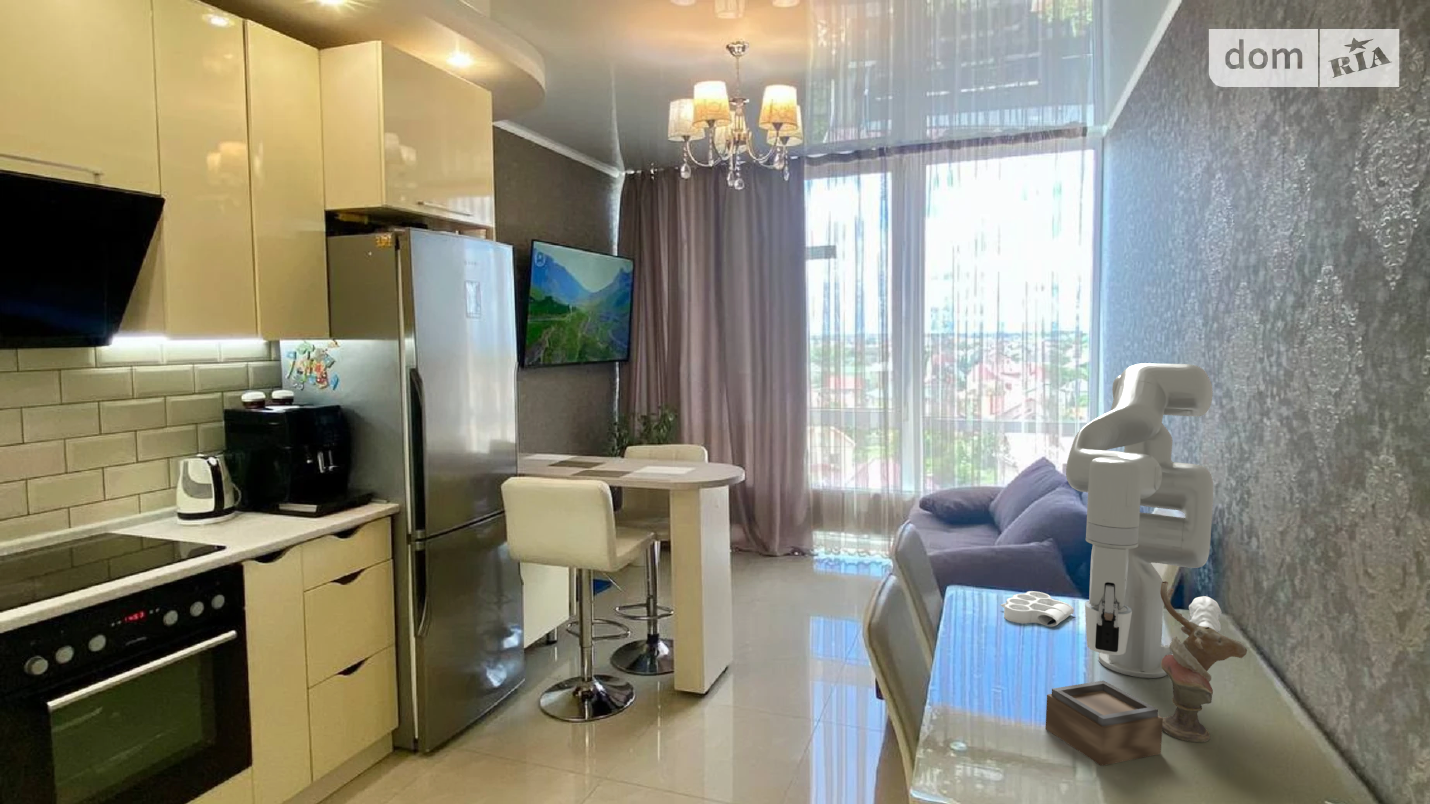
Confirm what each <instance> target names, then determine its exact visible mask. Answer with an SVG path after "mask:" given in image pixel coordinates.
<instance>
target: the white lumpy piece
mask: <svg viewBox="0 0 1430 804" xmlns="http://www.w3.org/2000/svg"><path fill="white" fill-rule="evenodd" d="M1188 610H1189V615H1190V617H1191V619H1190V620H1189V621H1190V622H1193V623H1195V624H1197V625H1199V626H1203V627H1210V628H1212V629H1214V630H1215V631H1216V632H1218V633H1220V632H1221V630H1222V629H1221V627H1222V625H1221V623H1220V621H1219V620H1220V617H1221V615H1222V610H1221V607H1220V606H1219V603H1218V602H1217V601H1216V600H1214V599H1213V598H1211V597H1209V596H1205V595H1203V596H1198V597H1195V598H1194V599H1193V600H1192V602H1191V603H1190V604H1189V605H1188Z"/></svg>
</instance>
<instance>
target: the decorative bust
mask: <svg viewBox="0 0 1430 804" xmlns="http://www.w3.org/2000/svg"><path fill="white" fill-rule="evenodd" d="M1168 584H1169V582H1168V581H1163V582H1162V584H1161V590H1160V594H1161V598H1162V601H1163V603H1164V605H1163V606H1164V608H1165V609H1166V611H1167V612H1168V614H1169V615H1170V616H1171V617H1173V618H1174V619H1175V621H1177V622H1179V624H1180V625H1182V626H1181V627H1180V629H1181V631H1182V633H1184V634H1186V635H1187V636H1188V637H1186V638H1185V639H1184V640H1183V642H1182V641H1181V640H1180V639H1179V638H1178V636H1174V637H1173V638H1172V639H1171V641H1170V643H1169V645H1170V649H1171V650H1172V653H1173V655H1166V656H1164V658H1163V659H1162V661H1161V667H1162V669H1163V670H1164V671H1165V672H1166V673H1167V675H1166V676H1168V677H1169V679H1170V681H1171V683H1172V698H1171V702H1172V703H1173V705H1174V706H1175V707H1176V708H1175V711H1174V713H1173V714H1172V715H1169V716H1165V717H1163V724H1162V732H1164V733H1166V734H1167V735H1169V736H1170V737H1173V738H1175V739H1178V740H1181V741H1184V742H1191V743H1206V742H1208V741H1209V740H1211V735H1210V732H1209V730H1208V728H1206V726H1205V725H1204V724H1202V723H1201V722H1200V721H1199V716H1198V713H1199V712H1201V711H1202V710H1203V706H1202V705H1206V704H1207V705H1208V704H1211V703H1212V699H1213V693H1214V691H1213V688H1212V685H1211V681H1212V675H1211V674H1210V673H1209V670H1210V668H1211V667H1212V666H1213V665H1214V664H1215V663H1216V662H1218V661H1220V662H1221V661H1225V660H1227V659H1229V658H1231V657H1232V658H1240V659H1242V658H1244V657H1245V656H1246V655H1247V654H1248V653H1247V651H1248V650H1247V647H1246V646H1245V644H1244V643H1243V642H1241V641H1239V640H1236V639H1234V638H1229V637H1228V636H1226V635H1223V634H1221V633H1220V632H1216V631H1215V630H1214V629H1212V628H1210V627H1203V626H1199V625H1197V624H1195V623H1193V622H1190V620H1189V619H1187V618H1185V617H1184V616H1183V613H1180V612H1177V610H1176V609H1175V608H1174V607H1173V605H1172V604H1171V597H1172V595H1173V593H1174V588H1172V587H1171V588H1169V589H1168Z"/></svg>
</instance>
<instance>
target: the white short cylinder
mask: <svg viewBox="0 0 1430 804" xmlns="http://www.w3.org/2000/svg"><path fill="white" fill-rule="evenodd" d="M1102 605H1104V606H1105V602H1102ZM1084 607H1085V608H1084V609H1085V610H1084V611H1085V627H1086V628H1085V630H1086V631H1085V632H1086V646H1087V648H1089V649H1090V650H1092V651H1093V652H1096V653H1098V654H1099V653H1103V654H1108V655H1121V654H1124V653H1125V652H1126V646H1127V640H1128V634H1129V627H1130V621H1131V615H1132V610H1131V608H1129V607H1127V606H1125V605H1123V608H1122V609H1121V610H1118V627H1119V639H1118V651H1117V652H1111V651H1106V650H1100V649H1096V647H1095V642H1096V623H1098V618H1099V604H1098V605H1094V606H1091V605H1090V604H1089V600H1088V601H1086V602H1085V603H1084ZM1114 607H1116V604H1114ZM1118 609H1119V608H1118ZM1103 612H1104V610H1102V613H1103ZM1113 614H1114V611H1113Z"/></svg>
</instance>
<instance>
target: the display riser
mask: <svg viewBox="0 0 1430 804" xmlns="http://www.w3.org/2000/svg"><path fill="white" fill-rule="evenodd" d="M1045 708H1046V709H1045V710H1046V711H1045V730H1047V732H1050V733H1051V734H1052V735H1054V736H1056V737H1057V738H1059V739H1060V740H1061V741H1063V742H1064V743H1066V744H1068V745H1069V746H1071V747H1072V748H1074V749H1075V750H1077V751H1078V752H1079V753H1081V754H1083V755H1084V756H1086V757H1087V758H1089V759H1090V760H1091V761H1093V762H1095V763H1096V764H1098V765H1099V766H1102V767H1104V766H1106V765H1107V766H1108V765H1112V764H1118V763H1122V762H1127V761H1132V760H1136V759H1143V758H1147V757H1153V756H1158V755H1161V754H1162V741H1163V739H1162V738H1163V729H1162V724H1163V718H1164V717H1162V716H1161V715H1159V709H1158V708H1156V707H1154V706H1153V705H1151V704H1149V703H1147V702H1145V701H1143V700H1142V699H1139V698H1137V697H1136V696H1134V695H1132V694H1130V693H1127V692H1126V691H1125V690H1123V689H1121V688H1119V687H1117V686H1115V685H1113V684H1111V683H1109V682H1108V681H1105V680H1099V681H1098V680H1097V681H1093V682H1085V683H1080V684H1072V685H1067V686H1059V687H1053V688H1051V693H1048V694H1047V695H1046V707H1045Z"/></svg>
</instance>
